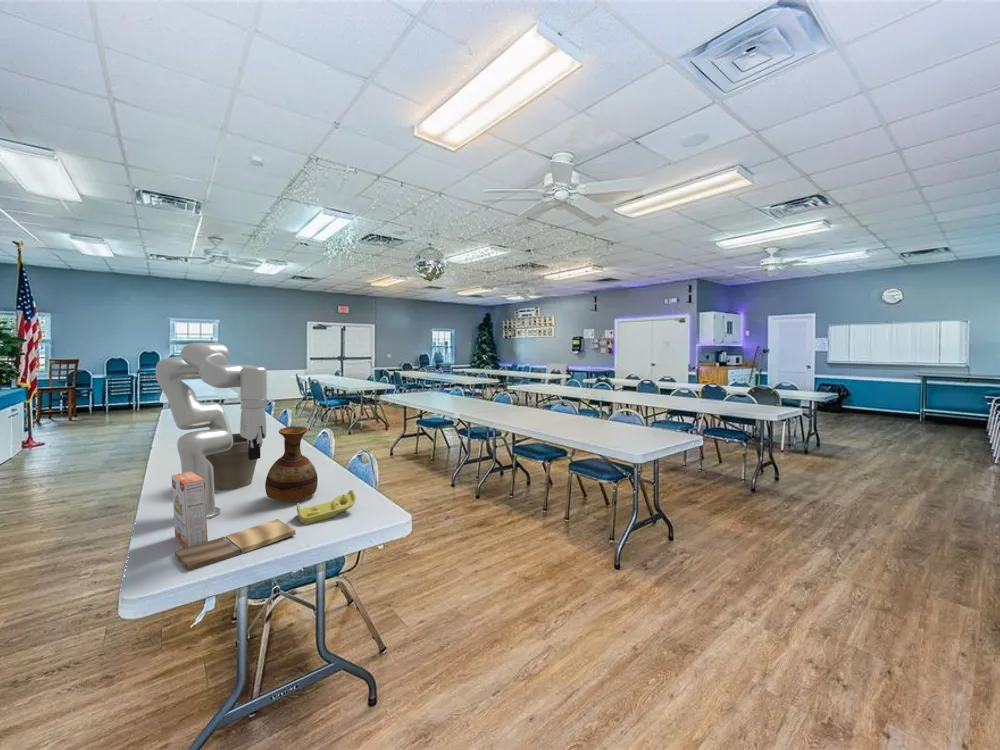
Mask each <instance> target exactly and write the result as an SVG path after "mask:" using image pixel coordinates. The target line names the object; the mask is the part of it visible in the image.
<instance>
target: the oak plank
mask: <svg viewBox="0 0 1000 750" xmlns="http://www.w3.org/2000/svg"><path fill="white" fill-rule="evenodd" d="M294 535H296V529H294V528H293V527H291V526H290V525H288V524H286V523H284V522H283V521H282V520H280V519H278V518H277V519H273V520H270V521H267V522H265V523H261V524H258V525H255V526H252V527H249V528H246V529H243V530H239V531H236V532H234V533H231V534H228V535H225V537H226V538H227V539H228V540H229V541H231V542H232V543H233V544H234V545H235V546H236V547H238V548H239V549H240V555H241V554H245V553H247V552H250V551H253V550H255V549H258V548H262V547H264V546H267V545H269V544H274V543H275V542H278V541H281V540H283V539H287V538H289V537H291V536H292V537H293V536H294Z"/></svg>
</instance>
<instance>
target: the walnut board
mask: <svg viewBox="0 0 1000 750" xmlns="http://www.w3.org/2000/svg"><path fill="white" fill-rule="evenodd" d="M239 555H240V556H241V553H240V549H239V548H238V547H236V546H235V545H234V544H233V543H232V542H231V541H229V540H228V539H227V538H226V536H221V537H218V538H215V539H211V540H208V541H207V542H204V543H200V544H197V545H193V546H190V547H187V548H186V547H184V548H180V549H176V550H174V556H175V558H176V557H177V558H176V559H177V560H178V561H179V562H180V564H181V563H182V564H181V565H182V566H183V568H184V569H185V570H186V571H187V572H191V571H194V570H197V569H200V568H204V567H206V566H208V565H212V564H215V563H218V562H221V561H224V560H228V559H231V558H233V557H237V556H239Z"/></svg>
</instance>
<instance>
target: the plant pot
mask: <svg viewBox="0 0 1000 750" xmlns="http://www.w3.org/2000/svg"><path fill="white" fill-rule="evenodd" d="M232 436H233V445H232V447H231V449H229V450H228V451H225V452H221V453H216V454H211V455H208V456H206V459H207V460H208V461H209V462H210V463H211V464H212V465H213V470H214V490H215V489H216V490H217V491H218V490H219V491H220V490H221V491H224V490H225V491H226V490H237V489H240V488H244V487H246V486H249V485H250V484H252V482H253V478H254V474H255V469H256V467H257V466H256V465H257V462H258V459H254V460H250V459H248V442H247V439H246V438H243V437H242V436H241V435H240V432H238V433H232ZM262 446H263V443H261V447H262Z"/></svg>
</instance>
